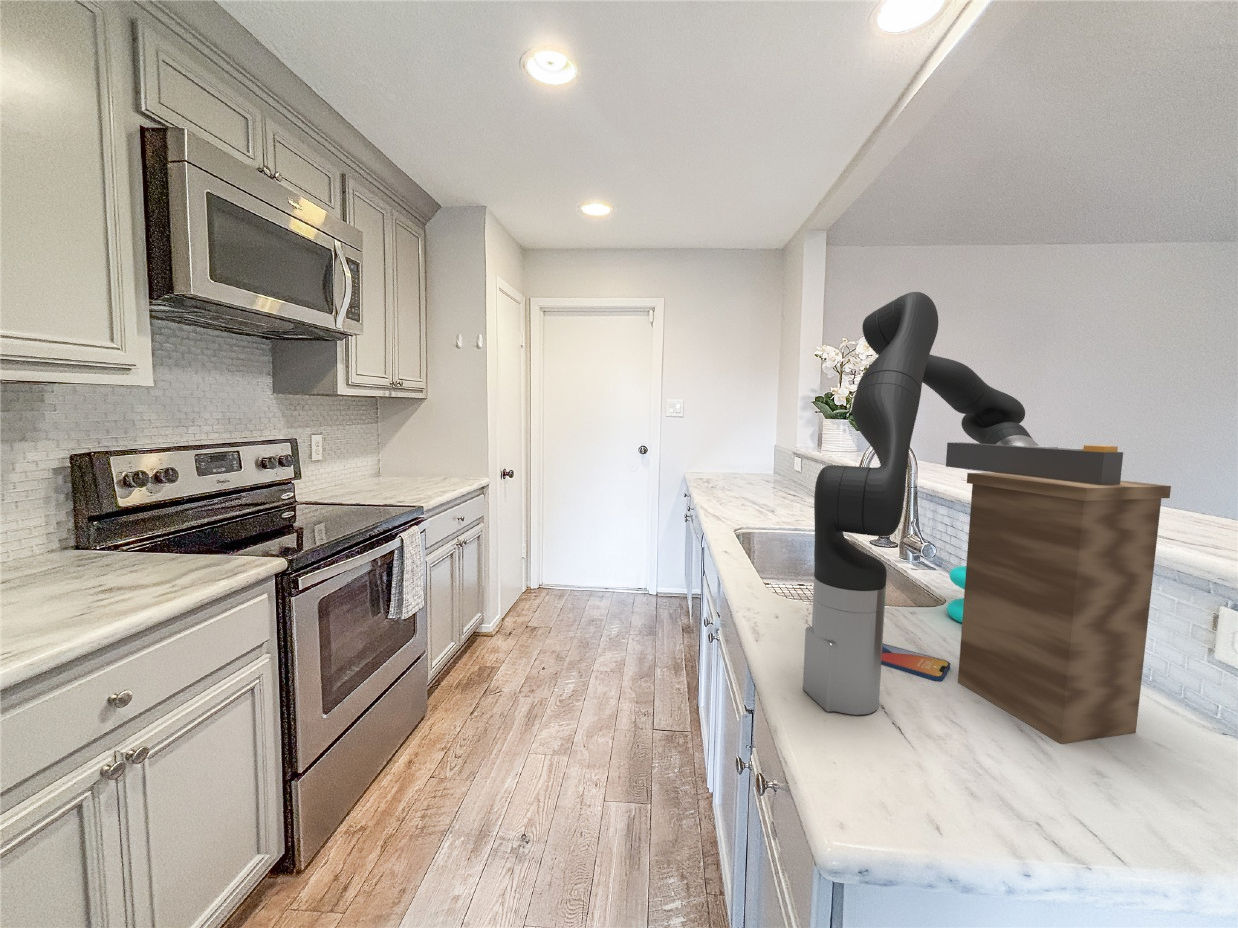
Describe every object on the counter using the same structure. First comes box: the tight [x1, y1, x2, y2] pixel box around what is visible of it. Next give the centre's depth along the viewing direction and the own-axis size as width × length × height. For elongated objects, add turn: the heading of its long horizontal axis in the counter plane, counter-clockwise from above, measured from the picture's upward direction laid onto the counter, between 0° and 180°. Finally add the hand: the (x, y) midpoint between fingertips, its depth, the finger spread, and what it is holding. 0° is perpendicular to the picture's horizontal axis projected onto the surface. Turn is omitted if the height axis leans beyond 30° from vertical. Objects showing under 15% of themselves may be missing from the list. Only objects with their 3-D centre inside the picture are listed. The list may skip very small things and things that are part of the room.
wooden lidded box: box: [957, 472, 1172, 745], centre depth 70 cm, size 13×16×32 cm
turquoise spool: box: [946, 565, 966, 624], centre depth 101 cm, size 10×10×10 cm
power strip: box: [945, 441, 1124, 485], centre depth 74 cm, size 3×23×5 cm, turn 12°
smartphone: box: [881, 643, 951, 683], centre depth 85 cm, size 7×15×1 cm, turn 47°
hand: (1062, 525), depth 79 cm, fingers open, 8 cm apart
